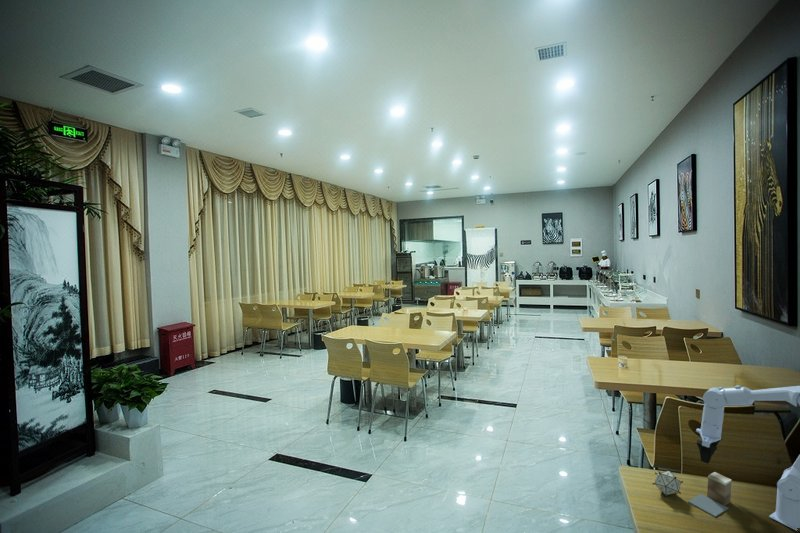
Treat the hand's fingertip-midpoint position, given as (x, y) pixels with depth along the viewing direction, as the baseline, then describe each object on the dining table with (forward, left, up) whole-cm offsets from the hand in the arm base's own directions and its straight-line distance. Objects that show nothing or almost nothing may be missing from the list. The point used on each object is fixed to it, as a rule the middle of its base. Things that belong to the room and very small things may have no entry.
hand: (707, 457), depth 143 cm
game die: (+4, +16, -11) cm, 20 cm away
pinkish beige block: (-6, +4, -11) cm, 13 cm away
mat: (-6, +10, -11) cm, 16 cm away
